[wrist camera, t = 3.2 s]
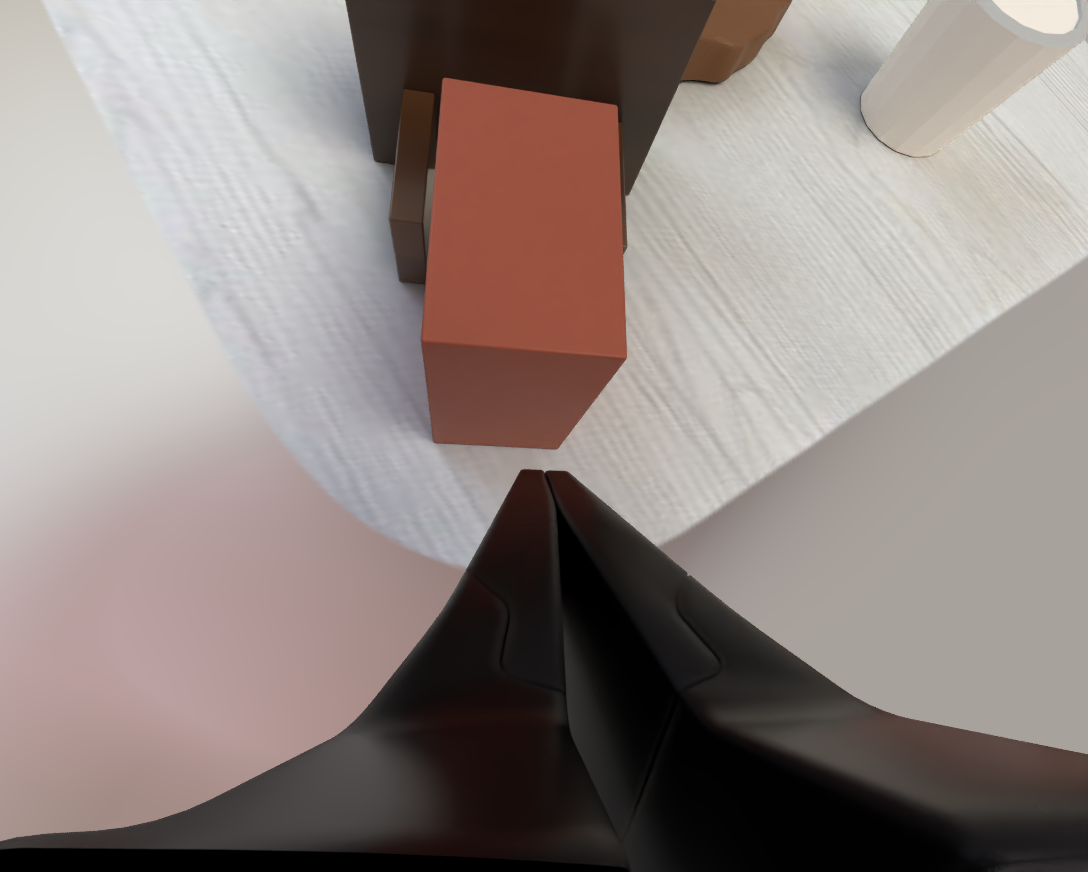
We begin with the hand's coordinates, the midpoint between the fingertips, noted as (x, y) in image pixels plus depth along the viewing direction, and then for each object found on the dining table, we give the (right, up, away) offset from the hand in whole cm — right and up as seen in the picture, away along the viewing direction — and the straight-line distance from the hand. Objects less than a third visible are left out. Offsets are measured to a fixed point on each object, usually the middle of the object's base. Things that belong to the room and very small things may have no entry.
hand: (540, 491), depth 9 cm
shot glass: (+21, +19, +21) cm, 36 cm away
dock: (-2, +12, +15) cm, 19 cm away
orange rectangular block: (-2, +4, +13) cm, 14 cm away
